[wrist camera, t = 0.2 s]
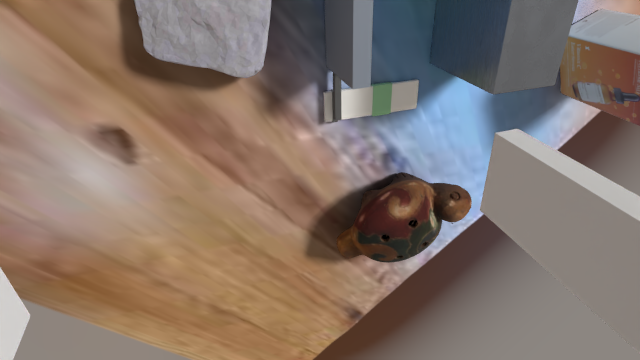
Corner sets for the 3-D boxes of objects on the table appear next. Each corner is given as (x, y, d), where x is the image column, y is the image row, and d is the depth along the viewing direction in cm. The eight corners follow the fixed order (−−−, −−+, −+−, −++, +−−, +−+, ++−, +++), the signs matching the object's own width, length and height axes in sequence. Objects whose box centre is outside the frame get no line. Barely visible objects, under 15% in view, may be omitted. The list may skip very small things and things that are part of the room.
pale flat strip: (323, 90, 39) (324, 92, 38) (417, 78, 41) (419, 79, 41) (324, 121, 40) (325, 123, 40) (414, 107, 43) (416, 109, 42)
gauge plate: (321, -122, 30) (354, -137, 24) (340, -122, 30) (377, -137, 25) (327, 116, 40) (352, 146, 34) (341, 114, 40) (368, 143, 34)
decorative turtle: (452, 186, 50) (491, 228, 44) (352, 251, 52) (374, 301, 46) (424, 133, 44) (464, 173, 38) (312, 209, 46) (332, 259, 40)
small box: (555, 31, 43) (650, 55, 34) (600, 7, 43) (706, 24, 34) (559, 95, 48) (643, 129, 39) (600, 72, 48) (693, 102, 39)
